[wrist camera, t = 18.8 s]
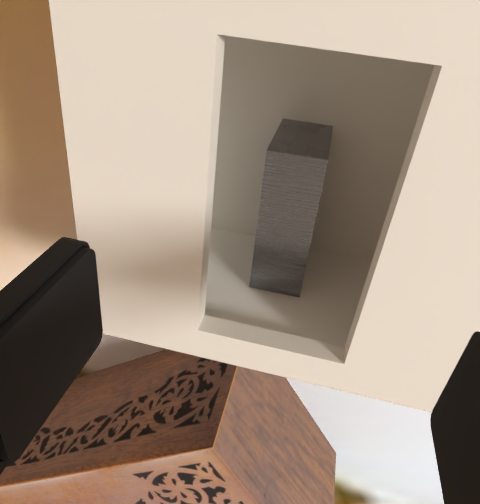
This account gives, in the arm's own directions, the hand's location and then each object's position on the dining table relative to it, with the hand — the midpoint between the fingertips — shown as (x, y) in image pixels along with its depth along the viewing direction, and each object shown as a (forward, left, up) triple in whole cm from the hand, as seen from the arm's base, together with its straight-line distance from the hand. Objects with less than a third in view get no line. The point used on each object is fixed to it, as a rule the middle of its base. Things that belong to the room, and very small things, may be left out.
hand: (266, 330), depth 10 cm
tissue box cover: (+27, -8, -16) cm, 32 cm away
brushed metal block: (+6, 0, -12) cm, 13 cm away
